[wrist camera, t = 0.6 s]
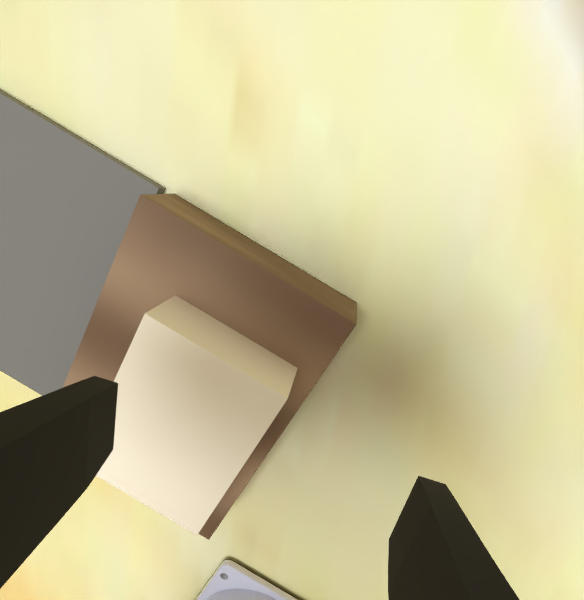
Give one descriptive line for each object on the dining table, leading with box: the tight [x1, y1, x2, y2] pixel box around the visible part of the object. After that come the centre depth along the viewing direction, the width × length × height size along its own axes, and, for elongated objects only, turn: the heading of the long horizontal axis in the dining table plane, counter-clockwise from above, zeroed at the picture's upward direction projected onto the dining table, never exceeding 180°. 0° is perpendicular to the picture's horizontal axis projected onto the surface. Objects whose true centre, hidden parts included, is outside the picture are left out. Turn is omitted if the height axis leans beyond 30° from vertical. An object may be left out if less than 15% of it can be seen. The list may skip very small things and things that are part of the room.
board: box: [63, 194, 356, 539], centre depth 19 cm, size 14×10×3 cm
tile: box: [96, 295, 298, 535], centre depth 16 cm, size 8×6×2 cm
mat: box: [0, 90, 165, 396], centre depth 20 cm, size 14×12×1 cm
